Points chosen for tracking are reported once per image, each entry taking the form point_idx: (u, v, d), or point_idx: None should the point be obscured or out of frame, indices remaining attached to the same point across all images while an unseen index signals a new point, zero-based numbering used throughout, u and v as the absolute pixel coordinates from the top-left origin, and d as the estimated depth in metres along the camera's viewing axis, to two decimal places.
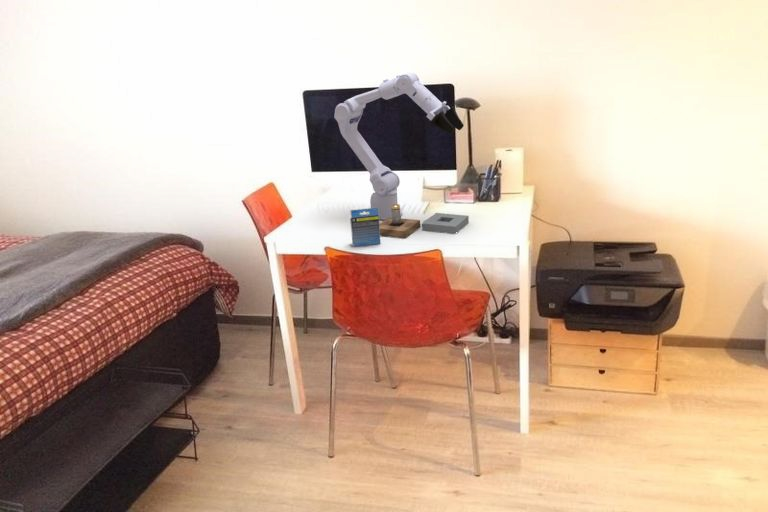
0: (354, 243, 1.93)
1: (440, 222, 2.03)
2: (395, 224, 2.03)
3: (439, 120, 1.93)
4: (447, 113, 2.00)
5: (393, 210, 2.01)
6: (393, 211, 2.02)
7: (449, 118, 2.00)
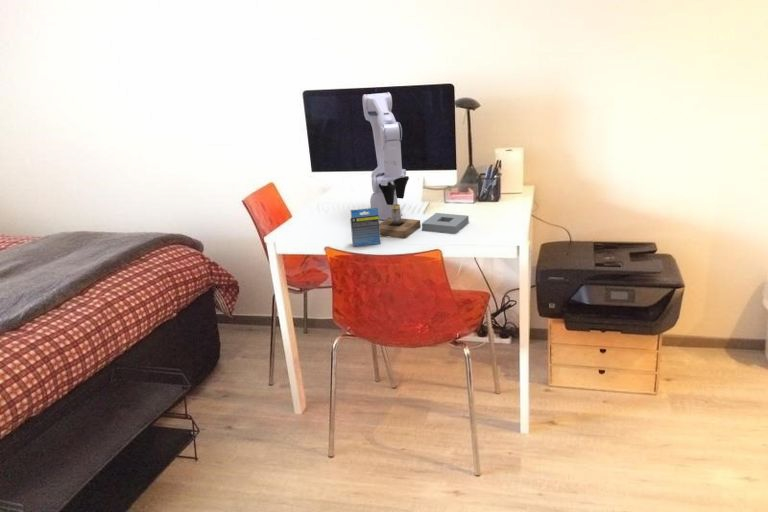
0: (354, 243, 1.93)
1: (440, 222, 2.03)
2: (395, 224, 2.03)
3: (387, 188, 1.96)
4: (399, 178, 2.02)
5: (393, 210, 2.01)
6: (393, 211, 2.02)
7: (398, 183, 2.03)
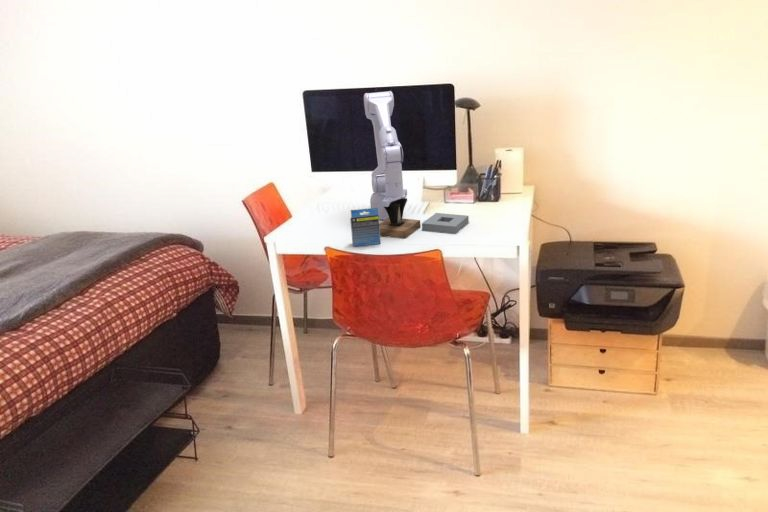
0: (354, 243, 1.93)
1: (440, 222, 2.03)
2: (395, 224, 2.03)
3: (392, 207, 2.00)
4: (398, 200, 2.03)
5: None
6: None
7: None
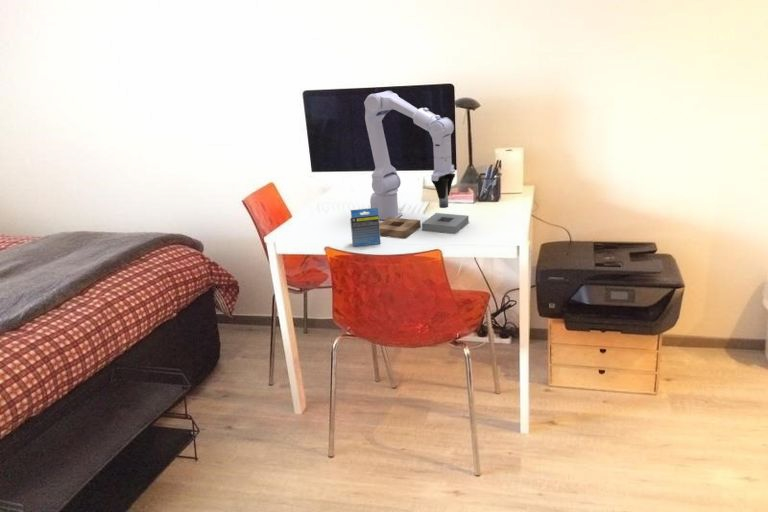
0: (354, 243, 1.93)
1: (440, 222, 2.03)
2: (443, 199, 2.01)
3: (440, 182, 1.99)
4: (446, 175, 2.01)
5: None
6: None
7: None
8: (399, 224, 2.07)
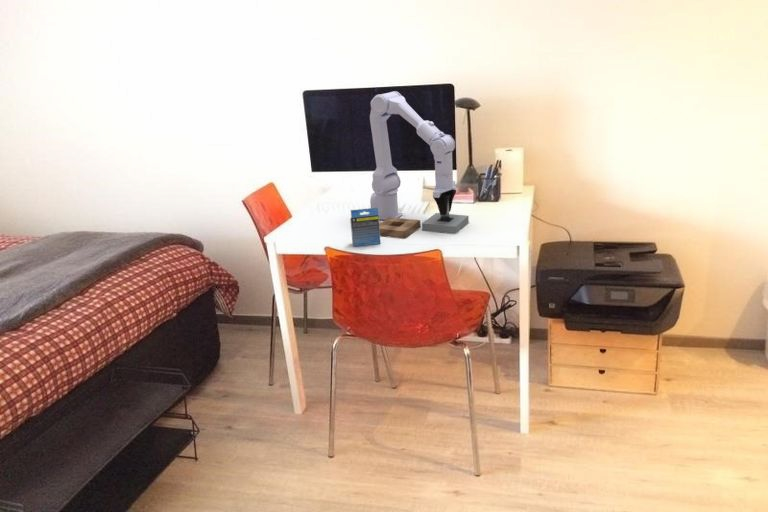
0: (354, 243, 1.93)
1: (440, 222, 2.03)
2: (444, 215, 2.03)
3: (441, 198, 2.01)
4: (447, 192, 2.03)
5: None
6: None
7: None
8: (399, 224, 2.07)
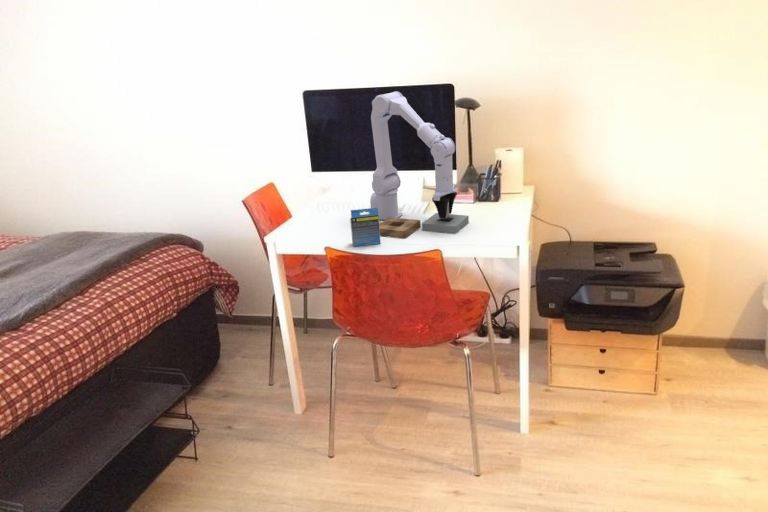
0: (354, 243, 1.93)
1: (440, 222, 2.03)
2: (444, 219, 2.04)
3: (441, 201, 2.00)
4: (448, 194, 2.04)
5: None
6: None
7: None
8: (399, 224, 2.07)
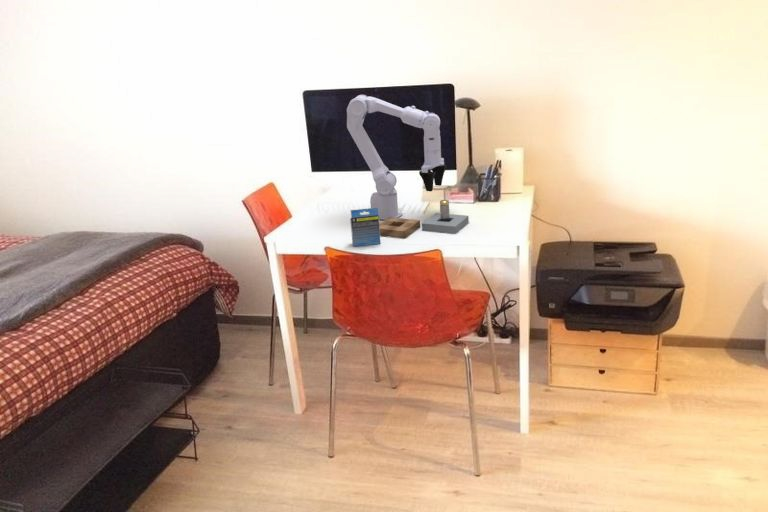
0: (354, 243, 1.93)
1: (440, 222, 2.03)
2: (444, 219, 2.04)
3: (427, 175, 2.09)
4: (438, 166, 2.15)
5: (443, 206, 2.02)
6: (443, 207, 2.02)
7: (436, 171, 2.15)
8: (399, 224, 2.07)
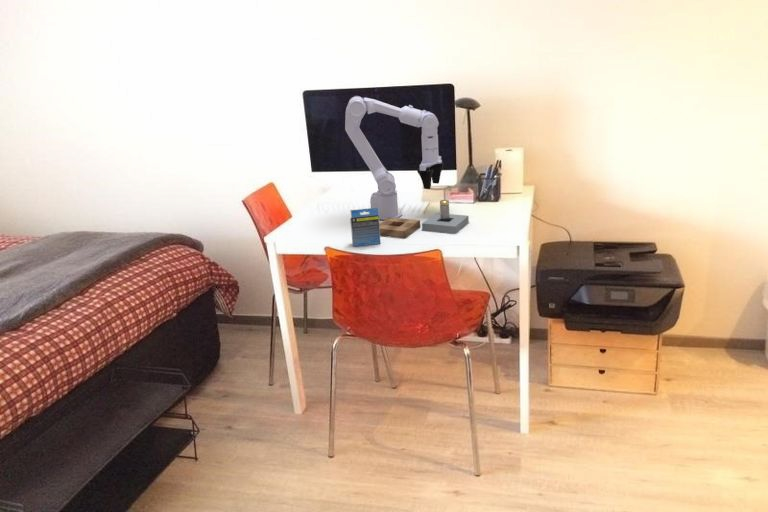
0: (354, 243, 1.93)
1: (440, 222, 2.03)
2: (444, 219, 2.04)
3: (425, 173, 2.11)
4: (435, 164, 2.17)
5: (443, 206, 2.02)
6: (443, 207, 2.02)
7: (434, 169, 2.18)
8: (399, 224, 2.07)
